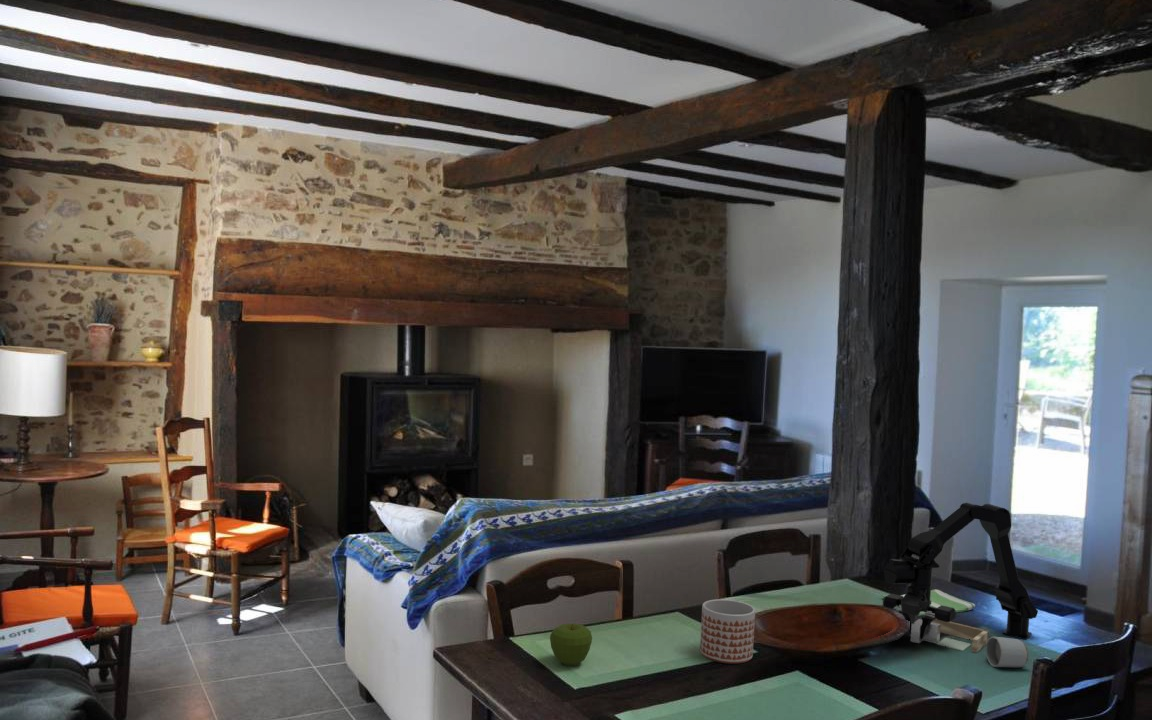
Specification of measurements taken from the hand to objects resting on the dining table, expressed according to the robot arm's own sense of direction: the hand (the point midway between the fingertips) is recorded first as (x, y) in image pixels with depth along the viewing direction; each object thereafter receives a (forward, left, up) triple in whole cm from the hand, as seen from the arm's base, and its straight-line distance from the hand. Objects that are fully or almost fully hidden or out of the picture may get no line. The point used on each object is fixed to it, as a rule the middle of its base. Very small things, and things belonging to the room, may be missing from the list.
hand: (916, 637), depth 256 cm
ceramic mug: (0, +23, -1) cm, 23 cm away
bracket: (-2, +2, -1) cm, 3 cm away
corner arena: (-9, +7, -1) cm, 11 cm away
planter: (+50, -32, -1) cm, 59 cm away
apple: (+85, -56, -1) cm, 102 cm away
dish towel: (-38, -10, -2) cm, 39 cm away
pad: (-5, +9, -1) cm, 10 cm away
